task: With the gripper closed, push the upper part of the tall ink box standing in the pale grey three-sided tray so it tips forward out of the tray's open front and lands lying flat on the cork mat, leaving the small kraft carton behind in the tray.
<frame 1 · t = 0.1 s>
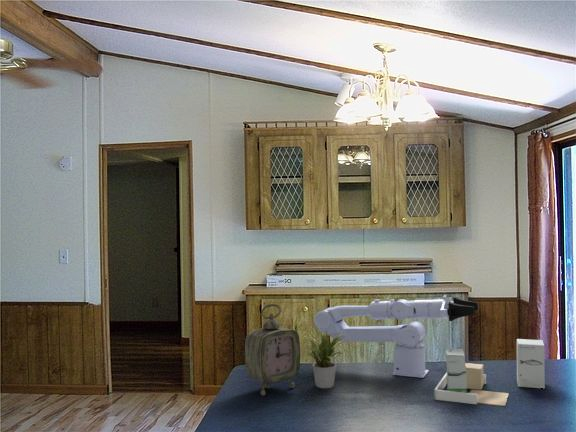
hand: (476, 308, 182), 22 cm above the counter, tool horizontal, fingers open, 7 cm apart
kraft carton: (473, 386, 176), on the counter
house plant: (328, 387, 178), on the counter
ink box: (457, 394, 169), on the counter, touching cork mat
tray: (459, 390, 172), on the counter
cork mat: (487, 397, 165), on the counter
supplement box: (530, 385, 177), on the counter
tabletop clock: (271, 390, 176), on the counter
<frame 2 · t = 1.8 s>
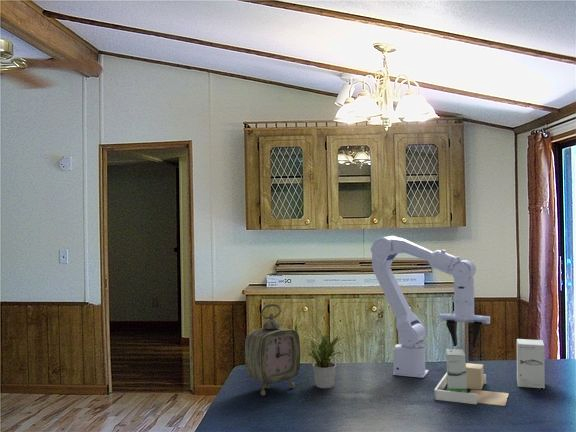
hand: (464, 346, 181), 10 cm above the counter, tool pointing down, fingers open, 5 cm apart
nothing on the counter moved.
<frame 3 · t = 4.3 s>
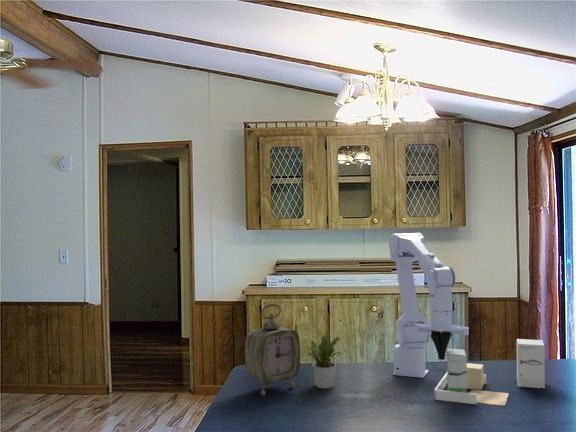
hand: (441, 358, 170), 10 cm above the counter, tool pointing down, fingers closed
ink box: (457, 394, 169), on the counter, touching cork mat, gripper
everything else where it was.
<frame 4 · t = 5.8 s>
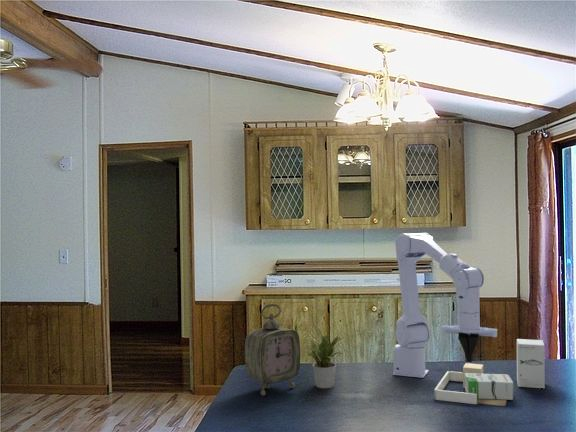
hand: (469, 361, 167), 10 cm above the counter, tool pointing down, fingers closed
ink box: (465, 385, 168), point 3 cm above the counter, touching cork mat
everything else where it was.
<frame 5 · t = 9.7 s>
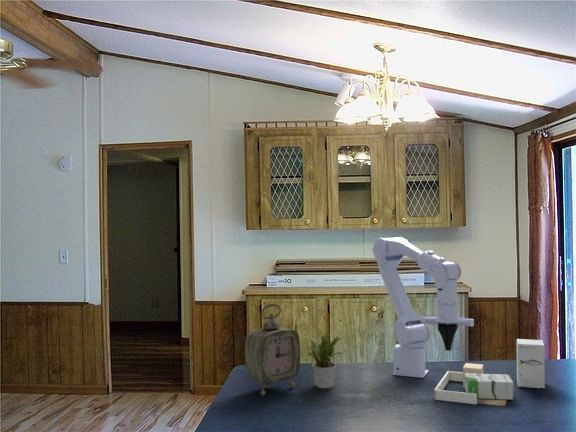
hand: (448, 349, 177), 10 cm above the counter, tool pointing down, fingers closed
nothing on the counter moved.
at the end: ink box tilted 90°; ink box inside the target area (6.9 cm from its centre), point 2.6 cm above the counter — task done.
